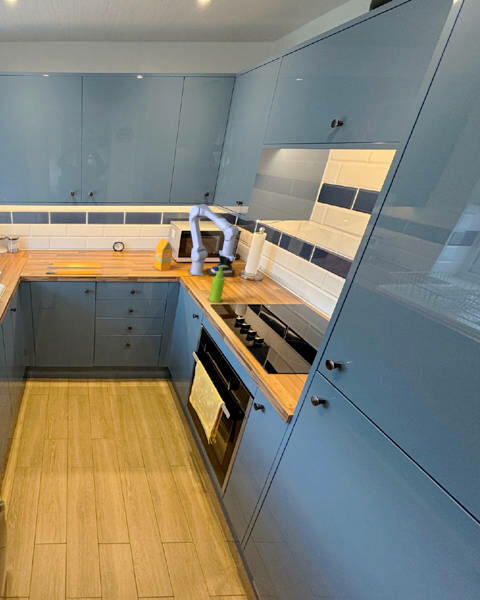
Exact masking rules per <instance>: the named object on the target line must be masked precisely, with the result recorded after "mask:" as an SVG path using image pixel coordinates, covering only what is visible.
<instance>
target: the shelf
mask: <svg viewBox="0 0 480 600" xmlns="http://www.w3.org/2000/svg"><path fill="white" fill-rule="evenodd" d="M205 269H206V270H205V271H206V273H207V274H208V276H209V277H215V276H216V274H217V273H214V272H212V271H211V269H212V267H206V268H205ZM231 270H232V272H229V273H224V274H223V278H234V277H235V273H236V270H235V269H234V267H233V266H232V269H231Z"/></svg>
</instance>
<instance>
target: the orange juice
mask: <svg viewBox="0 0 480 600" xmlns="http://www.w3.org/2000/svg"><path fill="white" fill-rule="evenodd" d="M173 250H174V249H173V247H172V245H171V244H170V242H169V240H167V239H164V238H161V239H160V240H159V242H158V243H157V244H156V246H155V255H154V263H153V267H154V268H155V269H157V270H158V271H160V272H162V271H170V270H171V265H172V259H173Z"/></svg>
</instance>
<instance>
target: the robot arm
mask: <svg viewBox="0 0 480 600" xmlns="http://www.w3.org/2000/svg"><path fill="white" fill-rule="evenodd" d="M188 212H189V217H188V221H189V222H188V223H189V228H190V235H191V241H192V246H193V247H192V248H191V254H190V258H191V260H192V261H191V266H190V269H189V273H190V275H191V276H204V275H205V274H204V265H205V261H206V259H207V258H208V256H209V255H208V254H209V253H208V251H207V249H206V247H205V246H204V245H203V239H202V234H201V228H200V219H201V218H202V217H207V218H208V219H209V220H211V221H212V222H214V223H215V227H216V228H218V229H219V230H220V231H221V232H222V233H223V235H224V241H223V246H222V250H219V251H218V252H219V253H218V254H219V255H218V259H219V264H225V265H226V266H229V267H230V265H232V264H233V263H234V262H235V259H236V257H235V256H234V254H233V252H234V248H235V244H236V238H237V236H238V234H239V232H240V229H239V227H238V226H237V225H233V224H232V223H230V222H229V221H227V219H226V218H224V217H221V218H220V217H219V216H218V215H217V214H216V213H215V212H214V211H213V210H211V208H210V206H208V205H206V203H205V204H204V203H202V204H198V205H193V206H191V208H190V209H189V211H188ZM229 267H224V270H228V269H229Z"/></svg>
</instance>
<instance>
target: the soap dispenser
mask: <svg viewBox="0 0 480 600" xmlns="http://www.w3.org/2000/svg"><path fill="white" fill-rule="evenodd" d="M218 267H219V271H217V274H216V276H212V282H211V287H210V291H209V299H208V300H209V301H210V302H212V303H214V304H217V303H220V302H221V301H222V296H223V292H224V287H225V286H224V285H225V282H226V277H223V274H224V272H223V271H222V270H223V268H224V267H229V266H226V265H220V266H218Z"/></svg>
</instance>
